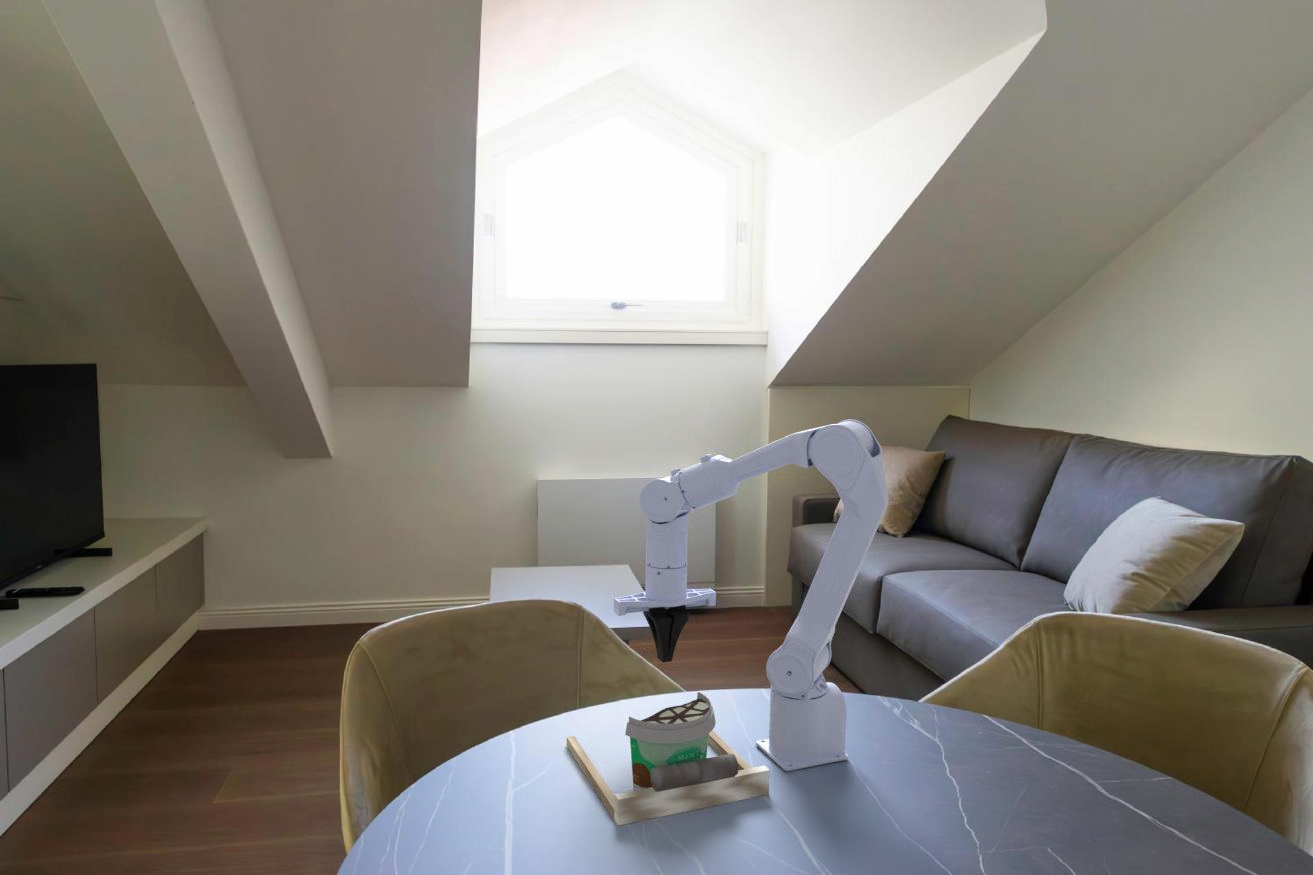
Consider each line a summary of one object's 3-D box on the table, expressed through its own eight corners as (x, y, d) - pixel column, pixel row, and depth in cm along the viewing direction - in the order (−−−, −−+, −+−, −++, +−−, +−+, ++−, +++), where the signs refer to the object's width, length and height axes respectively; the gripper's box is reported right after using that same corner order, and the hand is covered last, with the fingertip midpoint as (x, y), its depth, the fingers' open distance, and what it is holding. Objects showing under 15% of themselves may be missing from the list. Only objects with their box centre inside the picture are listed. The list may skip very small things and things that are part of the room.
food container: (659, 822, 94) (661, 736, 93) (624, 800, 98) (625, 717, 97) (735, 785, 102) (737, 706, 101) (699, 766, 107) (701, 690, 106)
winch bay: (697, 723, 119) (697, 686, 118) (771, 796, 100) (772, 752, 99) (566, 745, 112) (566, 706, 111) (619, 828, 93) (620, 781, 92)
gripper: (701, 553, 123) (699, 644, 124) (607, 560, 117) (605, 655, 119) (723, 564, 116) (721, 660, 117) (624, 573, 111) (623, 673, 112)
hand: (664, 659), depth 118 cm, fingers closed
